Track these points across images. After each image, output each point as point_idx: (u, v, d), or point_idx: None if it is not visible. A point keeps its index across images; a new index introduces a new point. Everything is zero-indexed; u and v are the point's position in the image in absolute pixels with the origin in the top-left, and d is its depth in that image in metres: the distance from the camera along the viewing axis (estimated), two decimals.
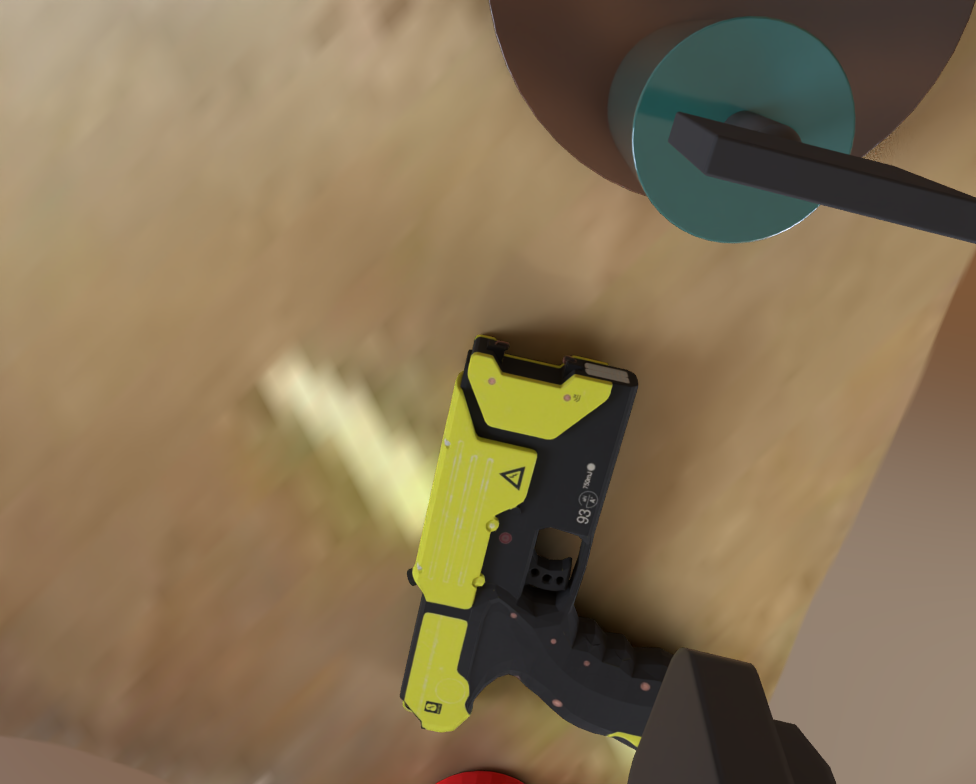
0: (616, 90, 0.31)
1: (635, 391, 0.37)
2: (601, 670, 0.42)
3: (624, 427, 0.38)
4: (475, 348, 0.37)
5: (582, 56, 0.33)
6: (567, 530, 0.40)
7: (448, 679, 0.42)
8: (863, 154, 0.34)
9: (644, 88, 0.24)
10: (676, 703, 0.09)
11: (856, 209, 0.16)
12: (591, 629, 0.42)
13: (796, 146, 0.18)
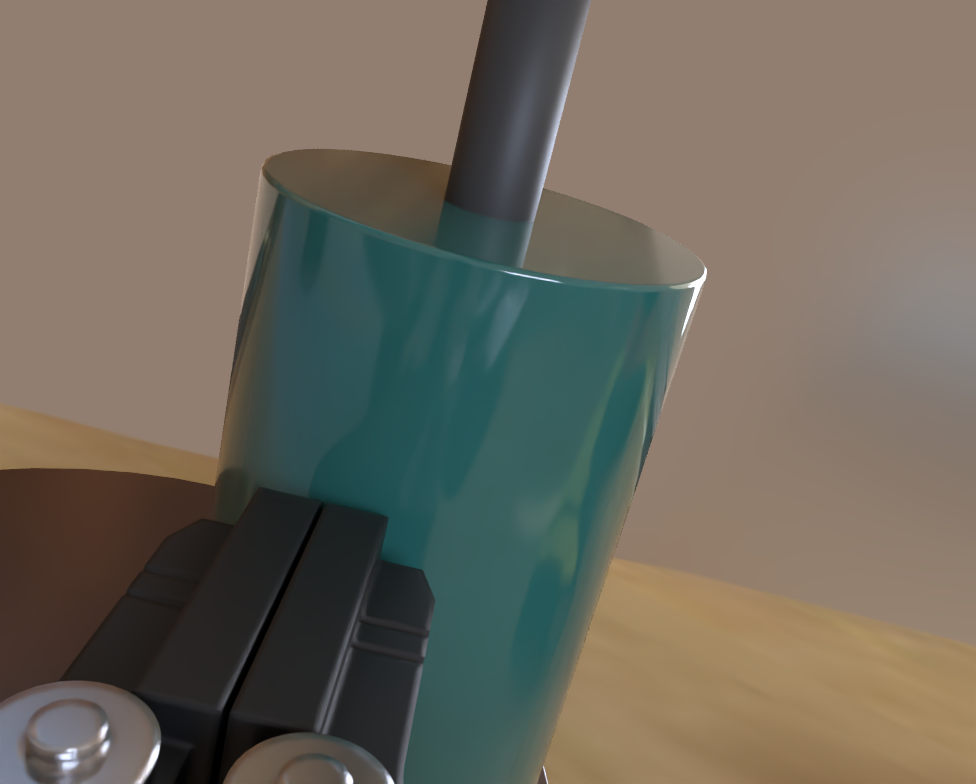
0: None
1: None
2: None
3: None
4: None
5: None
6: None
7: None
8: None
9: (426, 249, 0.09)
10: None
11: None
12: None
13: None
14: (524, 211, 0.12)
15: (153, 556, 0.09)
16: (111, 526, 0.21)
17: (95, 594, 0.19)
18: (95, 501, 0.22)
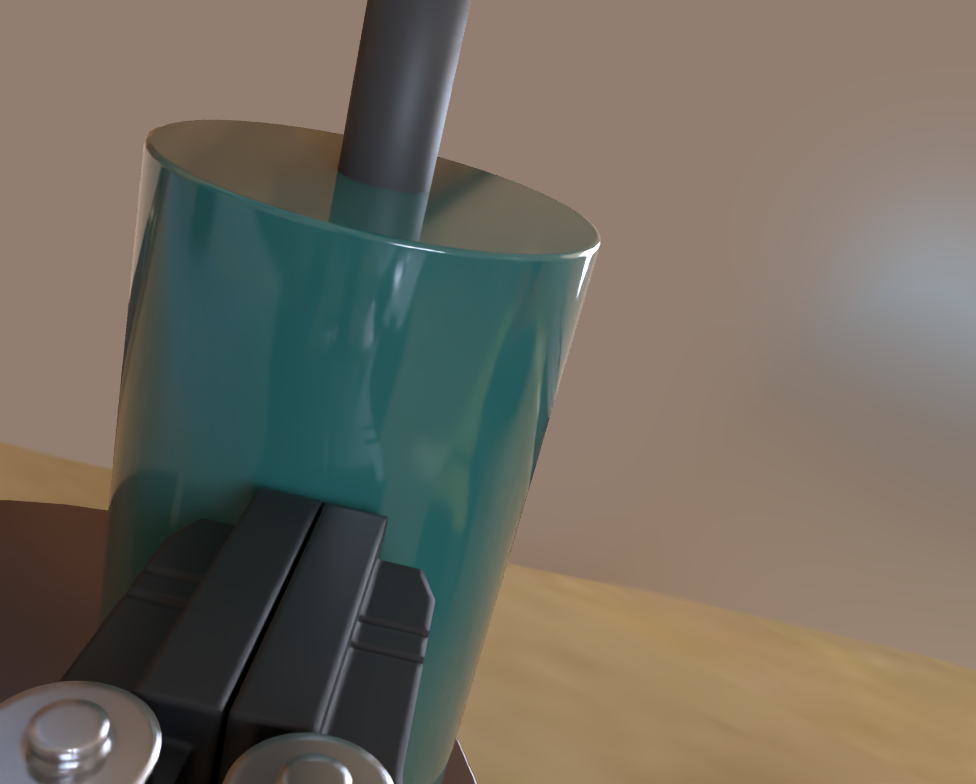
0: None
1: None
2: None
3: None
4: None
5: None
6: None
7: None
8: None
9: (428, 248, 0.09)
10: None
11: None
12: None
13: None
14: (427, 181, 0.12)
15: (154, 556, 0.09)
16: None
17: None
18: None
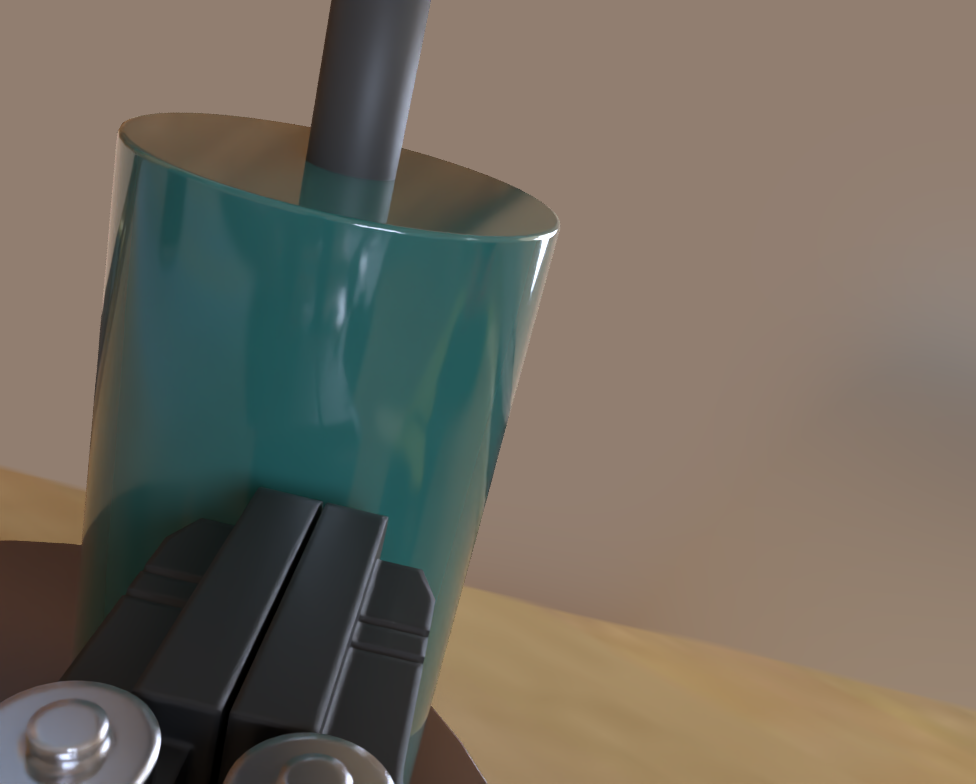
0: None
1: None
2: None
3: None
4: None
5: None
6: None
7: None
8: (68, 544, 0.20)
9: (480, 239, 0.10)
10: None
11: None
12: None
13: None
14: None
15: (153, 556, 0.09)
16: None
17: None
18: None
